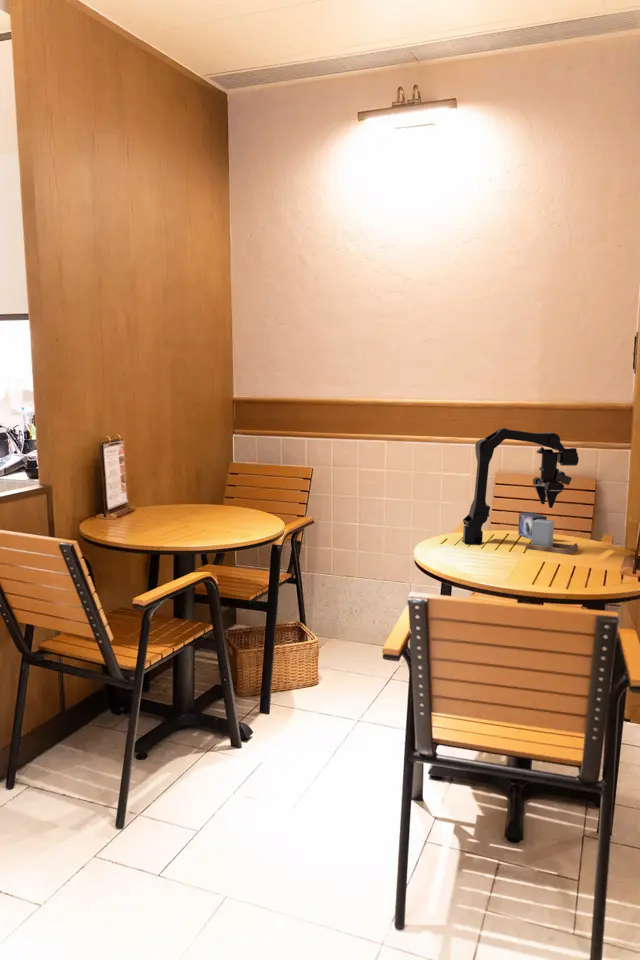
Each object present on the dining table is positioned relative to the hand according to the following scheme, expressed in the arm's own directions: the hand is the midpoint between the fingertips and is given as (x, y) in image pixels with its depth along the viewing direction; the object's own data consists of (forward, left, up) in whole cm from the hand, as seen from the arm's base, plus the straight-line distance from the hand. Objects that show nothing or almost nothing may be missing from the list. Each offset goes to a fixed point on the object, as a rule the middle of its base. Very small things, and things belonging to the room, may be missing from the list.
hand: (546, 506), depth 297 cm
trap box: (-3, -18, -15) cm, 23 cm away
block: (-6, -16, -13) cm, 21 cm away
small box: (-3, +6, -15) cm, 17 cm away
